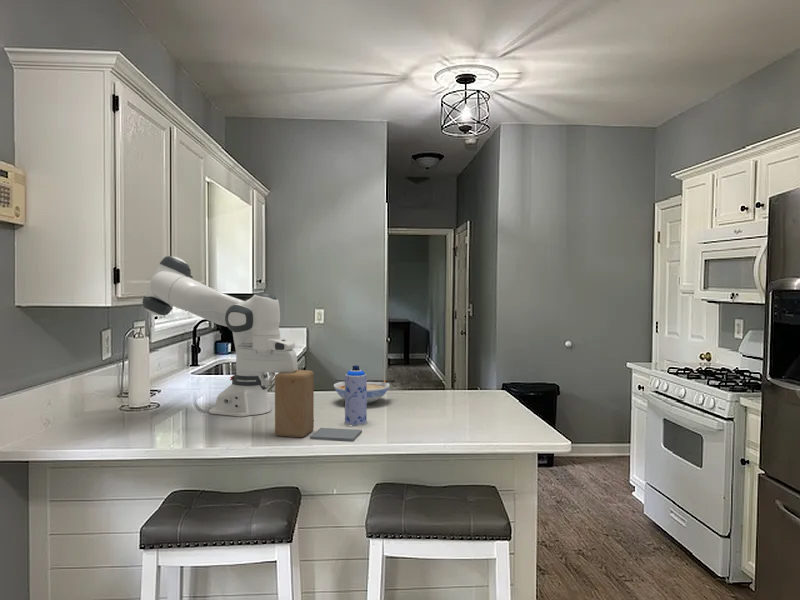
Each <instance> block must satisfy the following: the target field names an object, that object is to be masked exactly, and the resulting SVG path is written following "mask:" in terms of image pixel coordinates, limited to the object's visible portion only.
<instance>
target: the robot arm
mask: <svg viewBox="0 0 800 600" xmlns="http://www.w3.org/2000/svg"><path fill="white" fill-rule="evenodd" d="M143 297H144V298H142V301H143V302H142V301H141V304H142V303H143V304H142V308H143V309H145V310H146V311H147V312H148V313H150V314H152V315H155V316H163V317H164V316H167V315H169V314H170V313H171V312H172V310H173V307H174V308H177V309H180V310H183V311H187V312H189V313H190V314H192V315H194V316H196V317H199V318H202V319H204V320H206V321H209V322H211V323H213V324H216V325H219V326H223V327H227V328H228V329H229V330H230V331H231V332H232V337H233V338H232V339H233V344H234V349H235V358H236V359H235V360H236V361H235V371H236V374H234V375H231V376H230V377H229V381H231V384H230V385H229V386H227V388H225V389H224V390H222V391H221V392H220V393H219V394H218V395H217V397H216V400H215V406H213V407H211V408H210V409H209V410H208V411H209V412H208V413H209V414H213V415H224V416H231V417H248V416H255V415H261V414H266V413H269V412H271V411H272V409H271V408H272V407H271V405H270V404H271V403H270V401H269V392H268V387H271V386H272V385H273V380H274V379H275V375H276V374H278V373H280V372H281V373H293V372H296V370H298V368H299V367H298V365H299V364H298V357H297V356H298V355H297V351H296V350H295V349H294V348H295V347H296V345H295V342H294V341H292V340H288V339H286V338H282V337H281V330H280V323H281V310H280V309H281V308H280V302H279V299H278V298H277V297H276V295H274V294H269V293H262V292H261V293H260V292H259V293H255V294H253V296H252V297H250V298H249V299H246V300H244V299H242V298H241V299H240V298H237V297H235V296H232V295H229V294H226V293H223V292H221V291H218V290H217V289H215V288H212V287H209V286H208V285H206V284H204V283H201V282H199V281H198V280H195V279H193V275H192V272H191V268H190V265H189V264H187V263H186V261H185V260H184V259H182V258H180V257H177V256H170V255H168V256H164V257H163V258H162V260H161V261H160V262H159V265H158V267H157V269H156V270H155V271H154V273H153V274H152V276H151V279H150V282H149V284H148V286H147V288H146V292H145V295H144V296H143Z"/></svg>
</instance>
